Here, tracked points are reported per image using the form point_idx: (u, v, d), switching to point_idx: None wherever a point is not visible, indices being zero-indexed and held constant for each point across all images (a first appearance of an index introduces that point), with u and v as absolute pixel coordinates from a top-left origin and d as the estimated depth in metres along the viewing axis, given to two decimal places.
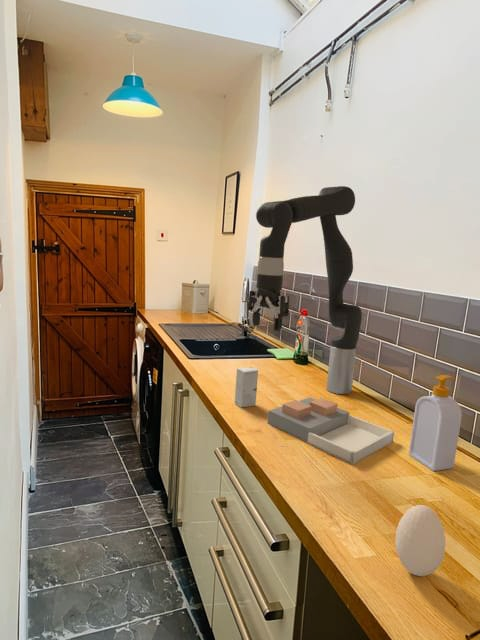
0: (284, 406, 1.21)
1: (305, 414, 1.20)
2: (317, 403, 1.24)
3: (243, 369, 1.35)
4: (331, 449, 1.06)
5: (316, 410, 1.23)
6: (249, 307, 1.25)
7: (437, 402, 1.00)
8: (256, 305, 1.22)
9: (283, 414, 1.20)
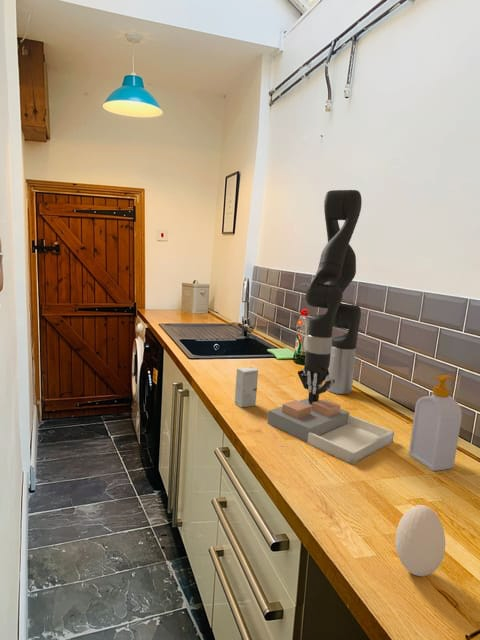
0: (284, 406, 1.21)
1: (305, 414, 1.20)
2: (320, 404, 1.23)
3: (243, 369, 1.35)
4: (331, 449, 1.06)
5: (319, 411, 1.23)
6: (305, 386, 1.28)
7: (437, 402, 1.00)
8: (309, 382, 1.26)
9: (283, 414, 1.20)
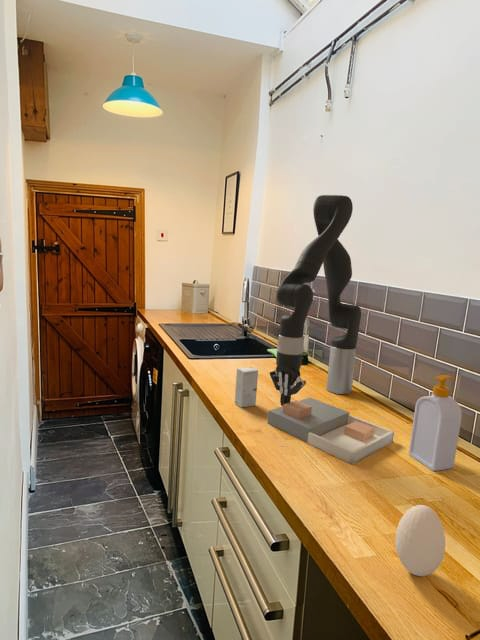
0: (285, 406, 1.21)
1: (306, 414, 1.20)
2: None
3: (243, 369, 1.35)
4: (331, 449, 1.06)
5: (355, 432, 1.15)
6: (277, 387, 1.25)
7: (437, 402, 1.00)
8: (280, 383, 1.23)
9: (283, 414, 1.20)
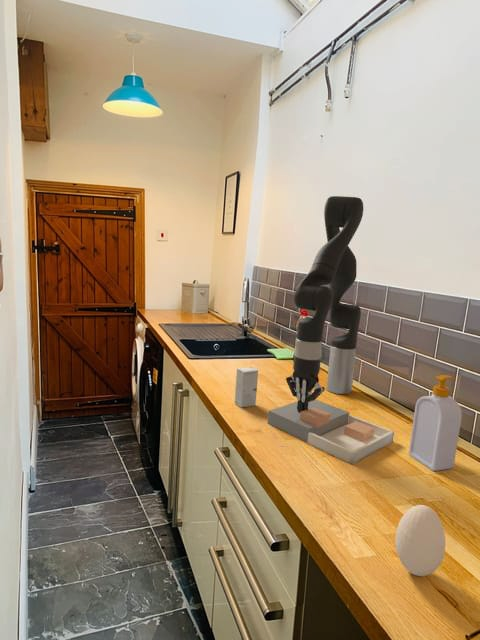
0: (302, 414, 1.16)
1: (324, 422, 1.15)
2: None
3: (243, 369, 1.35)
4: (331, 449, 1.06)
5: (355, 432, 1.15)
6: (294, 393, 1.20)
7: (437, 402, 1.00)
8: (298, 390, 1.18)
9: (283, 414, 1.20)
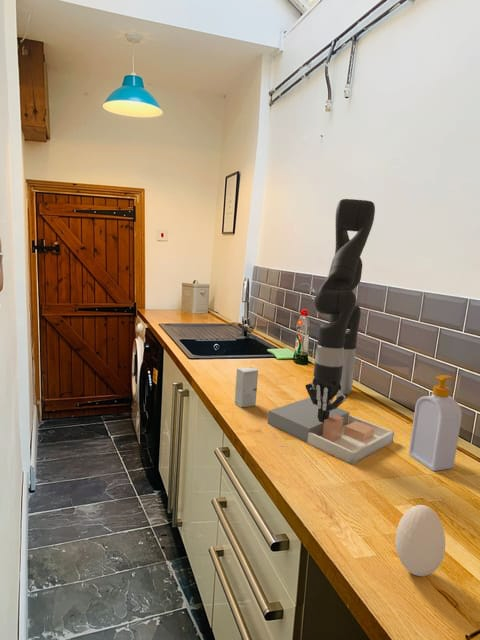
0: (330, 425, 1.11)
1: None
2: None
3: (243, 369, 1.35)
4: (331, 449, 1.06)
5: (355, 432, 1.15)
6: (314, 401, 1.15)
7: (437, 402, 1.00)
8: (318, 397, 1.13)
9: (283, 414, 1.20)
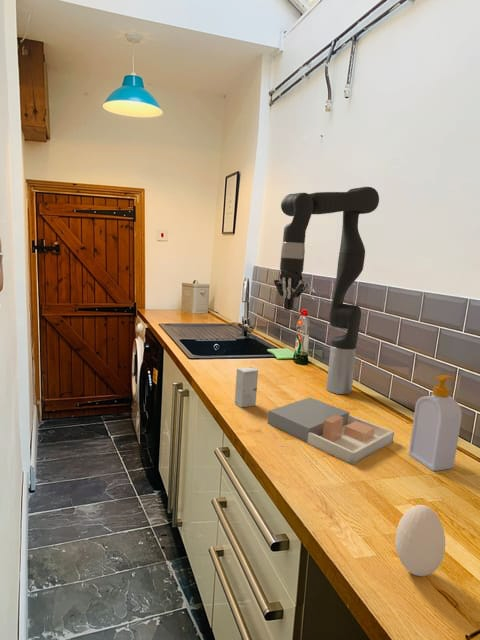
0: (330, 425, 1.11)
1: None
2: None
3: (243, 369, 1.35)
4: (331, 449, 1.06)
5: (355, 432, 1.15)
6: (281, 293, 1.36)
7: (437, 402, 1.00)
8: (284, 288, 1.35)
9: (283, 414, 1.20)
